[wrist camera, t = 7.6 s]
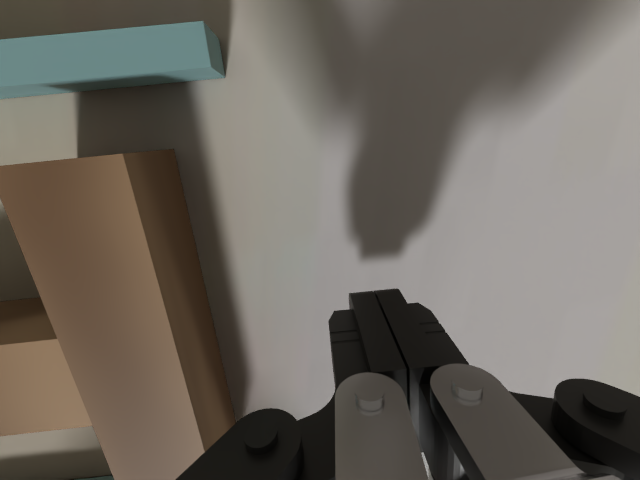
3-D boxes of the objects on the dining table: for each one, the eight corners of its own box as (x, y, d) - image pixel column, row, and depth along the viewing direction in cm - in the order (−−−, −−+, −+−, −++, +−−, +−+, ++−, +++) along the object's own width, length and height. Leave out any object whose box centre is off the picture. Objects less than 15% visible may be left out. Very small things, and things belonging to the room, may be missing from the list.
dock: (218, 38, 9) (202, 20, 8) (290, 472, 14) (289, 509, 13) (-356, 92, 9) (-481, 83, 8) (-73, 513, 14) (-115, 554, 13)
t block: (173, 149, 10) (122, 153, 7) (239, 439, 14) (222, 518, 11) (-182, 185, 10) (-379, 204, 7) (-20, 468, 14) (-106, 556, 11)
